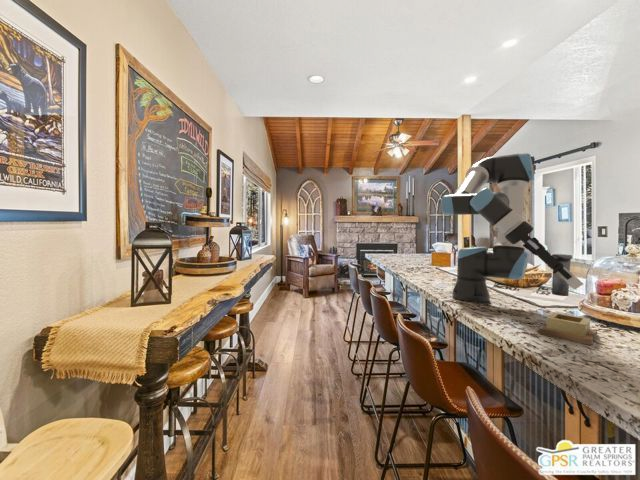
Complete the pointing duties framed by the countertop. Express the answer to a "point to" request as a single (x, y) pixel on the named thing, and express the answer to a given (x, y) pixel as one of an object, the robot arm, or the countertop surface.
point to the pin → (558, 283)
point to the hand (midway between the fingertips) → (576, 285)
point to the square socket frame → (568, 324)
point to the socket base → (570, 335)
